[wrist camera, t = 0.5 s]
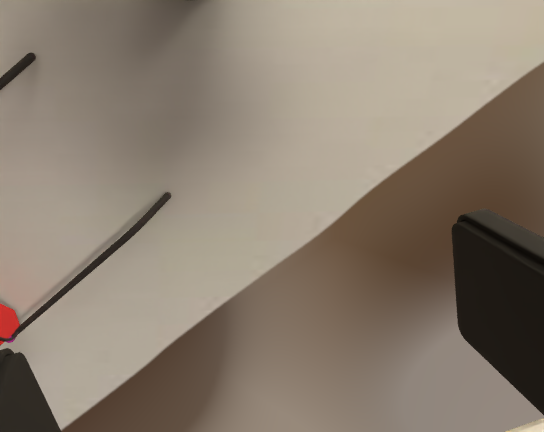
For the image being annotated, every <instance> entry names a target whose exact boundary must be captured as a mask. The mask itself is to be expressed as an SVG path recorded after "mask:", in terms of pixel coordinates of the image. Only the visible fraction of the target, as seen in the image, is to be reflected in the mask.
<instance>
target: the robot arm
mask: <svg viewBox="0 0 544 432" xmlns="http://www.w3.org/2000/svg"><path fill="white" fill-rule="evenodd" d="M452 243H453V257H454V273H455V288H456V303H457V318H458V327H459V330H460V332H461V334H462V336H463V337H464V339H465V340H466V341H467V342H468V343H469V344H470V345H471V346H472V347H473V348H474V349H475V350H476V351H478V352H479V353H480V354H481V355H482V356H483V357H484V358H485V359H486V360H487V361H488V362H489V363H490V364H491V365H492V366H493V367H494V368H495V369H496V370H497V371H498V372H499V373H500V374H501V375H502V376H503V377H505V378H506V379H507V380H508V381H509V382H510V383H511V384H512V385H513V386H514V387H515V388H516V389H517V390H518V391H519V392H520V393H521V394H523V396H524V397H525V398H526V399H527V400H528V401H530V402H531V403H532V404H533V405H534V406H535V407H536V408H537V409H538V410H539V411H540V412H541V413H542V414H543V415H544V238H543V237H541V236H540V235H537V234H536V233H534V232H532V231H529V230H528V229H526V228H524V227H522V226H520V225H518V224H515V223H514V222H512V221H510V220H508V219H506V218H504V217H502V216H500V215H498V214H496V213H494V212H492V211H490V210H488V209H481V210H478V211H474V212H471V213H467V214H464V215H461V216H460V217H459V218H458V220H457V223H456V224H454V225H453V227H452ZM0 432H61V430H60V428H59V426H58V424H57V422H56V420H55V418H54V416H53V414H52V412H51V409H50V407H49V405H48V403H47V401H46V399H45V397H44V395H43V393H42V391H41V389H40V387H39V384H38V382H37V380H36V378H35V376H34V374H33V372H32V370H31V368H30V366H29V364H28V362H27V359H26V358H25V356H24V355H23V354H22V353H20V352H19V353H15V354H14V352H13V351H12V350H11V349H8V348H6V349H3V350H0ZM506 432H544V418H542V419H539V420H536V421H534V422H531V423H528V424H525V425H522V426H520V427H517V428H514V429H511V430H508V431H506Z"/></svg>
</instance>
